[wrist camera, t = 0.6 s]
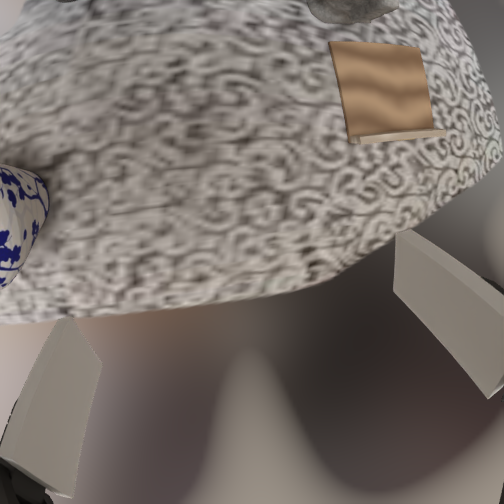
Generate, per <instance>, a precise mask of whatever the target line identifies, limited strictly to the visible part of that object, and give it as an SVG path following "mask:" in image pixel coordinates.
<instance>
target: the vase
mask: <svg viewBox="0 0 504 504" xmlns="http://www.w3.org/2000/svg"><path fill="white" fill-rule="evenodd" d="M48 210H49V195H48V191H47V188H46V186H45V184H44V182H43V181H42V179H41V178H40V177H39V176H38V175H37V174H35V173H33V172H30V171H26V170H23V169H19V168H16V167H12V166H9V165H5V164H2V163H0V290H1V289H3V288H5V287H6V286H8V285H9V284H10V283H11V282H12V281H13V279H14V278H15V277H16V276H17V274H18V273H19V271H20V270H21V269H22V267H23V265H24V263H25V261H26V258H27V257H28V255H29V252H30V250H31V248H32V246H33V244H34V241H35V239H36V237H37V235H38V233H39V231H40V229H41V226H42V224H43V222H44V221H45V219H46V217H47V214H48Z"/></svg>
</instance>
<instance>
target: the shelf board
mask: <svg viewBox="0 0 504 504" xmlns="http://www.w3.org/2000/svg"><path fill="white" fill-rule="evenodd" d="M328 45H329V49H330V53H331V56H332V61H333V65H334V69H335V73H336V78H337V82H338V87H339V92H340V97H341V102H342V107H343V112H344V118H345V123H346V129H347V136H348V142H349V143H354V144H360V145H362V144H369V143H377V142H385V141H394V140H397V141H399V140H409V139H415V138H426V137H439V136H446V130H442V129H434V126H433V118H432V110H431V103H430V97H429V91H428V85H427V80H426V75H425V70H424V66H423V61H422V57H421V53H420V49H419V48H416V47H409V46H402V45H393V44H382V43H369V42H340V41H330V42H328Z"/></svg>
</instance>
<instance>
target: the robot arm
mask: <svg viewBox="0 0 504 504" xmlns="http://www.w3.org/2000/svg"><path fill="white" fill-rule="evenodd" d="M56 1H59V2H71V1H76V0H56ZM395 250H396V252H395V271H394V286H393V291H394V292H395V293H396V295H397V296H398V297H399V298H400V299H401V300H402V301H403V302H404V303H405V304H406V305H407V306H408V307H409V308H410V309H411V310H412V311H413V312H414V313H415V314H416V316H418V318H419V319H420V320H421V321H422V322H423V323H424V324H425V325H426V326H427V327H428V328H429V330H430V331H431V332H432V333H433V334H434V335H435V336H436V337H437V338H438V340H439V341H440V342H441V343H442V344H443V345H444V346H445V348H446V349H448V351H449V352H450V353H451V354H452V356H453V357H454V358H455V359H456V360H457V362H458V363H459V364H460V365H461V366H462V368H463V369H464V370H465V371H466V372H467V373H468V375H469V376H470V377H471V378H472V380H473V381H474V382H475V383H476V385H477V386H478V387H479V388H480V390H481V391H482V392H483V393H484V395H485V396H486V397H487V399H489V398H490V397H491V396H493V395H494V394H495V393H496V392H497V391H499V390H500V389H501V388H502V387H503V385H504V289H503V288H502V287H501V286H499V285H498V284H497V283H495V282H494V281H491V280H489V279H487V278H484V277H479V276H478V275H477V274H476V273H474V272H473V271H472V270H470V269H469V268H467V267H466V266H465V265H463V264H462V263H460V262H459V261H458V260H456V259H455V258H453V257H452V256H450V255H449V254H447V253H446V252H445V251H443V250H441V249H440V248H439V247H437V246H436V245H434V244H433V243H431V242H430V241H428V240H427V239H425V238H423V237H422V236H420V235H419V234H417V233H416V232H414V231H413V230H411V229H409V230H406V231H402V232H399V233H396V249H395ZM102 366H103V363H102V362H101V361H100V359H99V358H98V356H97V355H96V353H95V352H94V350H93V349H92V347H91V346H90V344H89V343H88V341H87V340H86V339H85V337H84V335H83V334H82V332H81V330H80V329H79V327H78V326H77V324H76V322H75V321H74V319H73V317H72V316H70V317H66V318H61V319H58V321H57V323H56V325H55V326H54V328H53V330H52V332H51V333H50V335H49V337H48V339H47V341H46V342H45V344H44V346H43V348H42V350H41V352H40V354H39V356H38V358H37V360H36V362H35V364H34V366H33V368H32V370H31V372H30V374H29V376H28V379H27V380H26V382H25V385H24V387H23V389H22V391H21V394H20V396H19V398H18V399H17V401H16V402H15V404H14V407H13V409H12V412H11V416H10V417H9V419H8V424H7V425H6V427H5V430H4V433H3V436H2V438H1V441H0V504H53V501H52V499H51V498H50V496H49V495H48V494H46V493H45V489H46V488H47V489H48V490H50V491H52V492H53V493H55V494H57V495H60V496H64V497H68V498H72V499H73V498H74V490H75V483H76V477H77V470H78V464H79V459H80V454H81V449H82V443H83V439H84V434H85V430H86V425H87V421H88V417H89V413H90V409H91V405H92V401H93V397H94V393H95V390H96V386H97V383H98V379H99V376H100V373H101V369H102ZM501 402H504V394H503V396H502V400H501ZM499 504H504V484H503V489H502V493H501V498H500V502H499Z"/></svg>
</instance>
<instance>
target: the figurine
mask: <svg viewBox="0 0 504 504" xmlns="http://www.w3.org/2000/svg"><path fill="white" fill-rule="evenodd" d="M307 3H308V6H309V9H310V11H311V13H312V14H313V15H314V16H315V17H317V18H318V19H319V20H321V21H323V22H325V23H341V24H354V23H356V22H360V23H371V20H373V19H375V18H378V17H380V16H382V15H384V14H387V13H389V12H392V11H394V10H396V9H398V8H399V0H307Z"/></svg>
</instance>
